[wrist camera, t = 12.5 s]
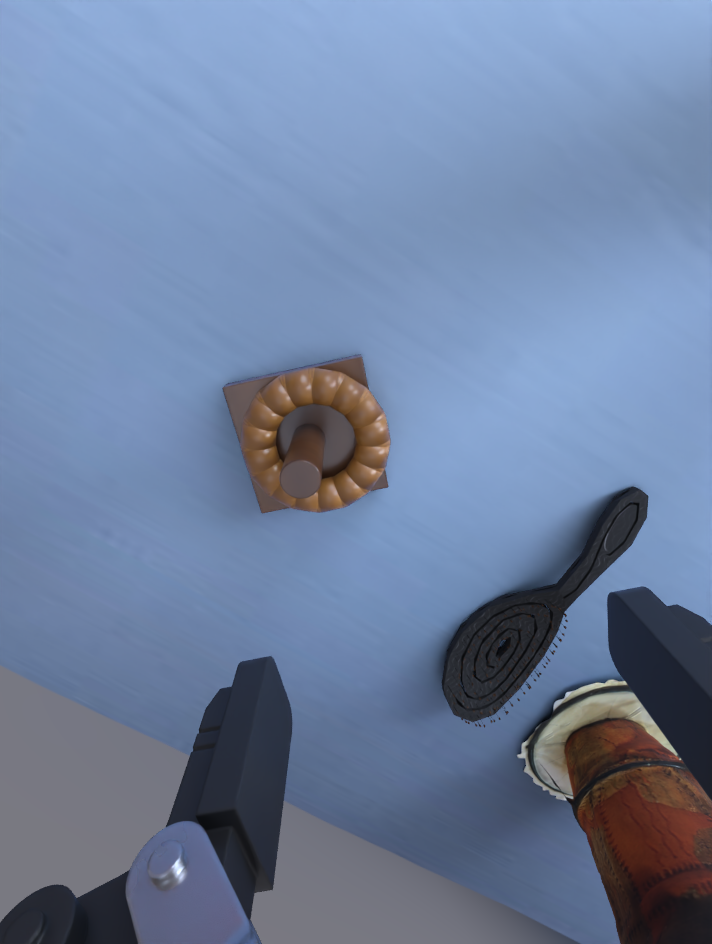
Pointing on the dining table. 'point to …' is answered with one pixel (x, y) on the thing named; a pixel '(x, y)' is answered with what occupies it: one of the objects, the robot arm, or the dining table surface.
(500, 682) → the hairbrush
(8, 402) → the dining table surface
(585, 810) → the decorative vase
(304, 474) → the peg stand
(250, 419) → the donut
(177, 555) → the dining table surface
